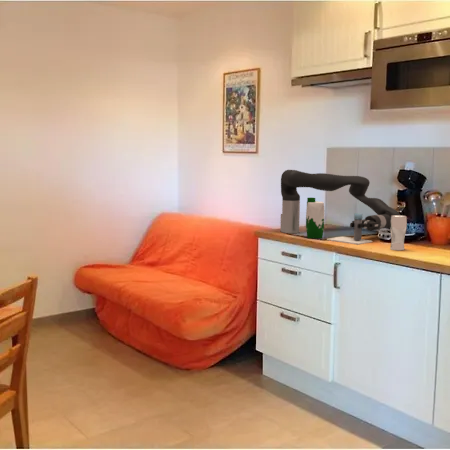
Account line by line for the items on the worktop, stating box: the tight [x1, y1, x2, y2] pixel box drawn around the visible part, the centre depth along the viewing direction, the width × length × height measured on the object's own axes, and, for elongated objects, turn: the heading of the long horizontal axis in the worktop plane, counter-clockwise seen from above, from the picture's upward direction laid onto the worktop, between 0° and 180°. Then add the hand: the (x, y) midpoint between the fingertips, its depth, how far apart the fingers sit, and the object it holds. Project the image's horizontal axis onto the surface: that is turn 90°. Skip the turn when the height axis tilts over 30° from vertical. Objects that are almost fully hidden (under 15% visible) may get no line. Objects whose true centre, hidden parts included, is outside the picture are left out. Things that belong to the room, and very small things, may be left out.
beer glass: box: [389, 214, 408, 251], centre depth 257 cm, size 7×7×15 cm
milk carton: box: [305, 197, 325, 239], centre depth 290 cm, size 9×9×20 cm
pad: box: [326, 236, 373, 245], centre depth 280 cm, size 18×12×1 cm, turn 42°
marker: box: [353, 212, 364, 240], centre depth 277 cm, size 4×4×12 cm
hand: (354, 225), depth 275 cm, fingers closed on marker, 3 cm apart
